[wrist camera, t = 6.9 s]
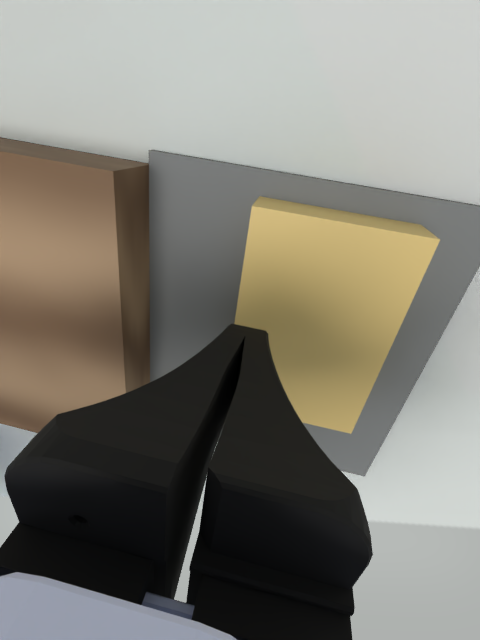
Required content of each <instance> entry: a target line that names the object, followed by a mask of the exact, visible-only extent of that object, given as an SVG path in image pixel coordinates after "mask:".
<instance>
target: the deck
mask: <svg viewBox="0 0 480 640" xmlns="http://www.w3.org/2000/svg"><path fill="white" fill-rule="evenodd" d="M148 383H150V275H149V164H148V163H143V162H137V161H131V160H125V159H120V158H114V157H108V156H103V155H97V154H91V153H85V152H80V151H74V150H68V149H62V148H57V147H51V146H45V145H40V144H34V143H28V142H22V141H17V140H11V139H5V138H0V423H1V424H5V425H9V426H13V427H17V428H21V429H24V430H28V431H32V432H36V433H39V432H40V430H41V429H42V428H43V427H44V426H45V425H47V424H48V423H49V422H50V421H51V420H52V419H53V418H54V417H55V416H56V415H57V414H60V413H64V412H68V411H72V410H75V409H79V408H82V407H86V406H89V405H93V404H96V403H99V402H102V401H106V400H108V399H111V398H114V397H117V396H120V395H122V394H125V393H127V392H130V391H132V390H135V389H137V388H139V387H141V386H143V385H146V384H148Z"/></svg>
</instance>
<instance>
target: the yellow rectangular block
mask: <svg viewBox="0 0 480 640" xmlns="http://www.w3.org/2000/svg"><path fill="white" fill-rule="evenodd" d="M439 241H440V239H439V238H438V237H436V236H435V235H434V234H432V233H431V232H430V231H429V230H427V229H426V228H425V227H423V226H422V225H420V224H415V223H409V222H403V221H397V220H392V219H386V218H380V217H375V216H369V215H363V214H358V213H352V212H346V211H341V210H335V209H329V208H324V207H318V206H312V205H307V204H301V203H295V202H290V201H284V200H278V199H273V198H267V197H261V196H259V197H258V199H257V200H256V201H255V203H254V204H253V205H252V208H251V215H250V222H249V229H248V235H247V242H246V249H245V255H244V262H243V269H242V276H241V282H240V289H239V296H238V302H237V309H236V316H235V322H234V324H237V325H241V326H246V327H251V328H255V329H260V330H265V331H267V333H268V334H269V335H268V338H269V346H270V350H271V354H272V358H273V361H274V364H275V367H276V371H277V373H278V376H279V378H280V381H281V383H282V386H283V388H284V390H285V392H286V394H287V396H288V398H289V400H290V402H291V404H292V406H293V408H294V410H295V411H296V413H297V415H298V416H299V418H300V420H301V421H302V423H307V424H311V425H315V426H319V427H324V428H328V429H332V430H337V431H341V432H345V433H350V434H351V433H352V431H353V429H354V427H355V424H356V422H357V420H358V418H359V416H360V414H361V411H362V409H363V407H364V405H365V403H366V400H367V398H368V396H369V394H370V392H371V390H372V387H373V385H374V383H375V381H376V379H377V377H378V374H379V372H380V370H381V368H382V366H383V363H384V361H385V359H386V357H387V355H388V353H389V350H390V348H391V346H392V344H393V342H394V339H395V337H396V335H397V333H398V331H399V329H400V326H401V324H402V322H403V320H404V318H405V316H406V313H407V311H408V309H409V307H410V305H411V302H412V300H413V298H414V296H415V294H416V292H417V289H418V287H419V285H420V283H421V281H422V278H423V276H424V274H425V272H426V270H427V268H428V265H429V263H430V261H431V259H432V257H433V255H434V252H435V250H436V248H437V246H438V244H439Z"/></svg>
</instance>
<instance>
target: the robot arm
mask: <svg viewBox="0 0 480 640" xmlns="http://www.w3.org/2000/svg"><path fill="white" fill-rule="evenodd" d="M268 335H269V334H268V333H267V331H265V330H260V329H255V328H251V327H246V326H241V325H237V324H230V325H228V326H227V328H226V329H225V330H224V331H223V332H222V333H221V334H219V335H218V336H217V337H216V338H215V339H214V340H213V341H212V342H211V343H209V344H208V345H207V346H206V347H205V348H203V349H202V350H201V351H200V352H198V353H197V354H196V355H194V356H193V357H192V358H190V359H189V360H187V361H186V362H185V363H183V364H182V365H180V366H179V367H177V368H175V369H174V370H172V371H170V372H169V373H167V374H165V375H164V376H162V377H160V378H158V379H156V380H154V381H152V382H150V383H148V384H146V385H143V386H141V387H139V388H137V389H135V390H132V391H130V392H127V393H125V394H122V395H120V396H117V397H114V398H111V399H108V400H106V401H102V402H99V403H96V404H93V405H89V406H86V407H82V408H79V409H75V410H72V411H68V412H64V413H60V414H57V415H56V416H55V417H54V418H53V419H52V420H51V421H50V422H49V423H48V424H47V425H45V426H44V427H43V428H42V429H41V430H40V432H39V433H38V434H37V435H36V436H35V437H34V438H33V439H32V440H31V441H30V443H29V444H28V445H27V446H26V447H25V448H24V449H23V450H22V451H21V453H20V454H19V455H18V456H17V457H16V458H15V459H14V460H13V461H12V463H11V464H10V465H9V466H8V467H7V470H6V473H5V482H6V487H7V491H8V494H9V497H10V499H11V502H12V504H13V507H14V509H15V512H16V514H17V517H18V519H19V523H18V525H17V526H16V527H15V529H14V530H13V531H12V533H11V534H10V535H9V537H8V538H7V539H6V541H5V542H4V543H3V545H2V546H1V548H0V640H352V632H351V622H350V616H352V615H353V613H354V599H353V589H352V587H353V585H354V584H355V582H356V581H357V580H358V578H359V577H360V576H361V574H362V573H363V571H364V570H365V568H366V567H367V566H368V564H369V562H370V560H371V557H372V555H373V554H372V546H371V536H370V531H369V527H368V522H367V519H366V515H365V512H364V508H363V505H362V502H361V499H360V495H359V492H358V490H357V488H356V487H355V486H354V485H353V484H352V483H351V482H350V481H349V479H348V478H347V477H346V476H345V475H344V474H343V473H342V472H341V471H340V470H339V469H338V468H337V467H336V466H335V465H334V463H333V462H332V461H331V460H330V459H329V458H328V457H327V455H326V454H325V453H324V452H323V451H322V449H321V448H320V447H319V446H318V444H317V443H316V441H315V440H314V439H313V437H312V436H311V434H310V433H309V431H308V430H307V429H306V427H305V426H304V424H303V423H302V421H301V420H300V418H299V416H298V415H297V413H296V411H295V410H294V408H293V406H292V404H291V402H290V400H289V398H288V396H287V394H286V392H285V390H284V388H283V386H282V383H281V381H280V378H279V376H278V373H277V371H276V367H275V364H274V361H273V358H272V354H271V350H270V346H269V338H268ZM221 431H222V432H221ZM220 434H221V435H220ZM219 436H220V438H219ZM218 439H219V440H218ZM217 442H218V443H217ZM216 444H217V446H216ZM215 447H216V448H215ZM214 450H215V451H214ZM213 453H214V454H213ZM207 472H208V473H207ZM206 476H207V480H206ZM205 480H206V487H205V494H204V502H203V509H202V516H201V523H200V531H199V535H198V538H197V542H196V546H195V549H194V553H193V557H192V561H191V564H190V578H189V587H188V595H187V602H186V603H184V602H180V601H177V600H174V597H175V593H176V589H177V585H178V581H179V577H180V573H181V570H182V566H183V562H184V558H185V554H186V550H187V546H188V543H189V539H190V535H191V532H192V528H193V524H194V520H195V516H196V513H197V509H198V505H199V502H200V498H201V494H202V491H203V487H204V483H205Z"/></svg>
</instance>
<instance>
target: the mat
mask: <svg viewBox="0 0 480 640" xmlns="http://www.w3.org/2000/svg"><path fill="white" fill-rule="evenodd" d="M259 196H261V197H267V198H273V199H278V200H284V201H290V202H295V203H301V204H307V205H312V206H318V207H324V208H329V209H335V210H341V211H346V212H352V213H358V214H363V215H369V216H375V217H380V218H386V219H392V220H397V221H403V222H409V223H415V224H420V225H422V226H423V227H425V228H426V229H427V230H429V231H430V232H431V233H432V234H434V235H435V236H436V237H438V238H439V239H440V241H439V244H438V246H437V248H436V250H435V252H434V255H433V257H432V259H431V261H430V263H429V265H428V268H427V270H426V272H425V274H424V276H423V278H422V281H421V283H420V285H419V287H418V289H417V292H416V294H415V296H414V298H413V300H412V302H411V305H410V307H409V309H408V311H407V313H406V316H405V318H404V320H403V322H402V324H401V326H400V329H399V331H398V333H397V335H396V337H395V339H394V342H393V344H392V346H391V348H390V350H389V353H388V355H387V357H386V359H385V361H384V363H383V366H382V368H381V370H380V372H379V374H378V377H377V379H376V381H375V383H374V385H373V387H372V390H371V392H370V394H369V396H368V398H367V400H366V403H365V405H364V407H363V409H362V411H361V414H360V416H359V418H358V420H357V422H356V424H355V427H354V429H353V431H352V433H351V434H350V433H345V432H341V431H337V430H332V429H328V428H324V427H319V426H315V425H311V424H307V423H303V424H304V426H305V427H306V429H307V430H308V431H309V433H310V434H311V436H312V437H313V439H314V440H315V441H316V443H317V444H318V446H319V447H320V448H321V449H322V451H323V452H324V453H325V454H326V455H327V457H328V458H329V459H330V460H331V461H332V462H333V463H334V465H335V466H336V467H337V468H338V469H339V470H341V471H345V472H349V473H353V474H357V475H361V476H365V475H366V473H367V471H368V469H369V467H370V466H371V464H372V462H373V460H374V458H375V456H376V455H377V453H378V451H379V449H380V447H381V445H382V444H383V442H384V440H385V438H386V436H387V434H388V433H389V431H390V429H391V427H392V425H393V423H394V422H395V420H396V418H397V416H398V414H399V413H400V411H401V409H402V407H403V405H404V403H405V402H406V400H407V398H408V396H409V394H410V392H411V391H412V389H413V387H414V385H415V383H416V381H417V380H418V378H419V376H420V374H421V372H422V370H423V369H424V367H425V365H426V363H427V361H428V359H429V358H430V356H431V354H432V352H433V350H434V349H435V347H436V345H437V343H438V341H439V339H440V338H441V336H442V334H443V332H444V330H445V328H446V327H447V325H448V323H449V321H450V319H451V317H452V316H453V314H454V312H455V310H456V308H457V306H458V305H459V303H460V301H461V299H462V297H463V296H464V294H465V292H466V290H467V288H468V286H469V285H470V283H471V281H472V279H473V277H474V275H475V274H476V272H477V270H478V268H479V266H480V206H478V205H472V204H466V203H460V202H454V201H448V200H442V199H437V198H431V197H425V196H419V195H413V194H407V193H401V192H396V191H390V190H384V189H378V188H372V187H366V186H360V185H355V184H349V183H343V182H337V181H331V180H325V179H319V178H314V177H308V176H302V175H296V174H290V173H284V172H278V171H273V170H267V169H261V168H255V167H249V166H243V165H237V164H232V163H226V162H220V161H214V160H208V159H202V158H197V157H191V156H185V155H179V154H173V153H167V152H161V151H156V150H149V275H150V382H152V381H154V380H156V379H158V378H160V377H162V376H164V375H165V374H167V373H169V372H170V371H172V370H174V369H175V368H177V367H179V366H180V365H182V364H183V363H185V362H186V361H187V360H189V359H190V358H192V357H193V356H194V355H196V354H197V353H198V352H200V351H201V350H202V349H203V348H205V347H206V346H207V345H208V344H209V343H211V342H212V341H213V340H214V339H215V338H216V337H217V336H218V335H219V334H221V333H222V332H223V331H224V330H225V329H226V328H227V326H228V325H230V324H234V322H235V316H236V309H237V302H238V296H239V289H240V282H241V276H242V269H243V262H244V255H245V249H246V242H247V235H248V229H249V222H250V215H251V208H252V205H253V204H254V203H255V201H256V200H257V199H258V197H259ZM221 432H222V431H221ZM220 435H221V434H220ZM219 438H220V436H219ZM218 440H219V439H218Z"/></svg>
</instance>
